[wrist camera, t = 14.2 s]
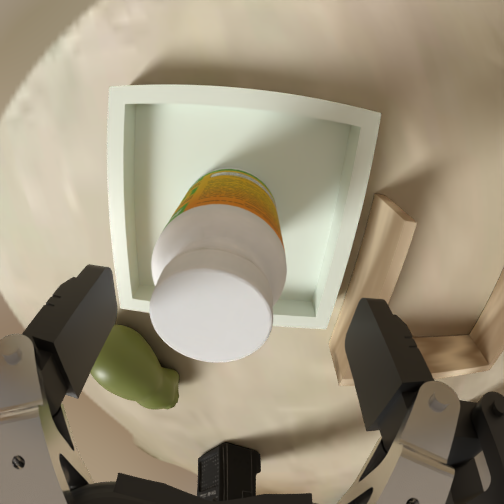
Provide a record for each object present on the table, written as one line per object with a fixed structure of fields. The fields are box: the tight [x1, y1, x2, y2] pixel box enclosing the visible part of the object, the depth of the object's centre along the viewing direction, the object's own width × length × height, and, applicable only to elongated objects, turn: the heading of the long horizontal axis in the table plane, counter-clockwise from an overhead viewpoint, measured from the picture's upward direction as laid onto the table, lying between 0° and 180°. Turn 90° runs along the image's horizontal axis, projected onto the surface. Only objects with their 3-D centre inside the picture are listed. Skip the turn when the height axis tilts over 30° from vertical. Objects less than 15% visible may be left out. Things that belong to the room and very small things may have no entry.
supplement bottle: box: [149, 168, 287, 362], centre depth 14 cm, size 5×5×10 cm
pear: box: [90, 325, 179, 409], centre depth 23 cm, size 6×5×10 cm
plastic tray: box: [107, 84, 381, 329], centre depth 18 cm, size 14×14×2 cm
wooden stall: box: [329, 194, 504, 386], centre depth 20 cm, size 17×13×4 cm
